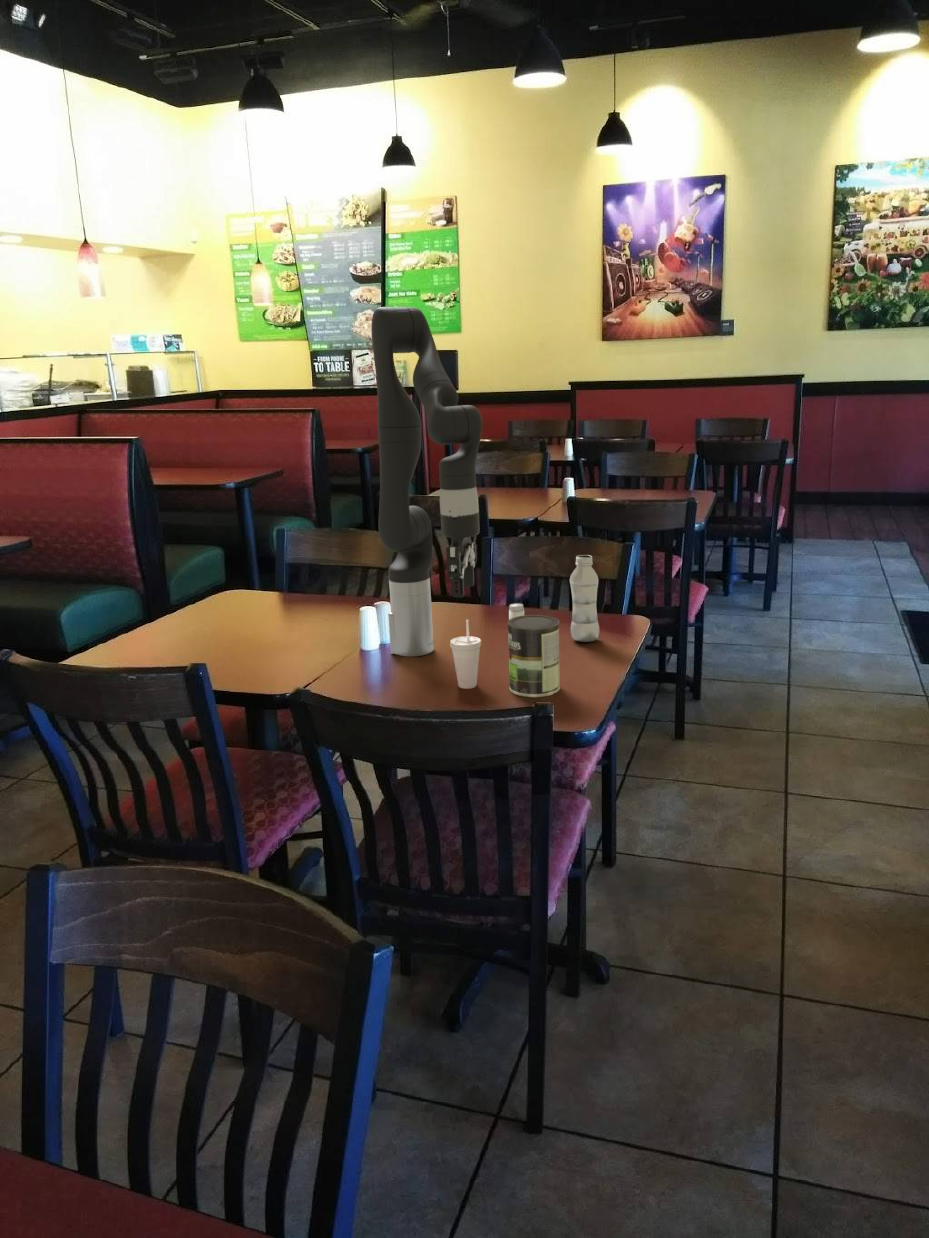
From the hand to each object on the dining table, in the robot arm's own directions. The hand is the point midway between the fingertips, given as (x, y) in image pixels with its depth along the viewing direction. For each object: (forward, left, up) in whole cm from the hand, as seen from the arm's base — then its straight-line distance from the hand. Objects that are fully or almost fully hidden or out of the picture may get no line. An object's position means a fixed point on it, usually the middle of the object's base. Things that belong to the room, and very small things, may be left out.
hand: (463, 591), depth 186 cm
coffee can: (+14, 0, -20) cm, 24 cm away
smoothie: (0, 0, -20) cm, 20 cm away
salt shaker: (+4, +33, -20) cm, 39 cm away
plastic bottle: (+20, +33, -20) cm, 43 cm away
